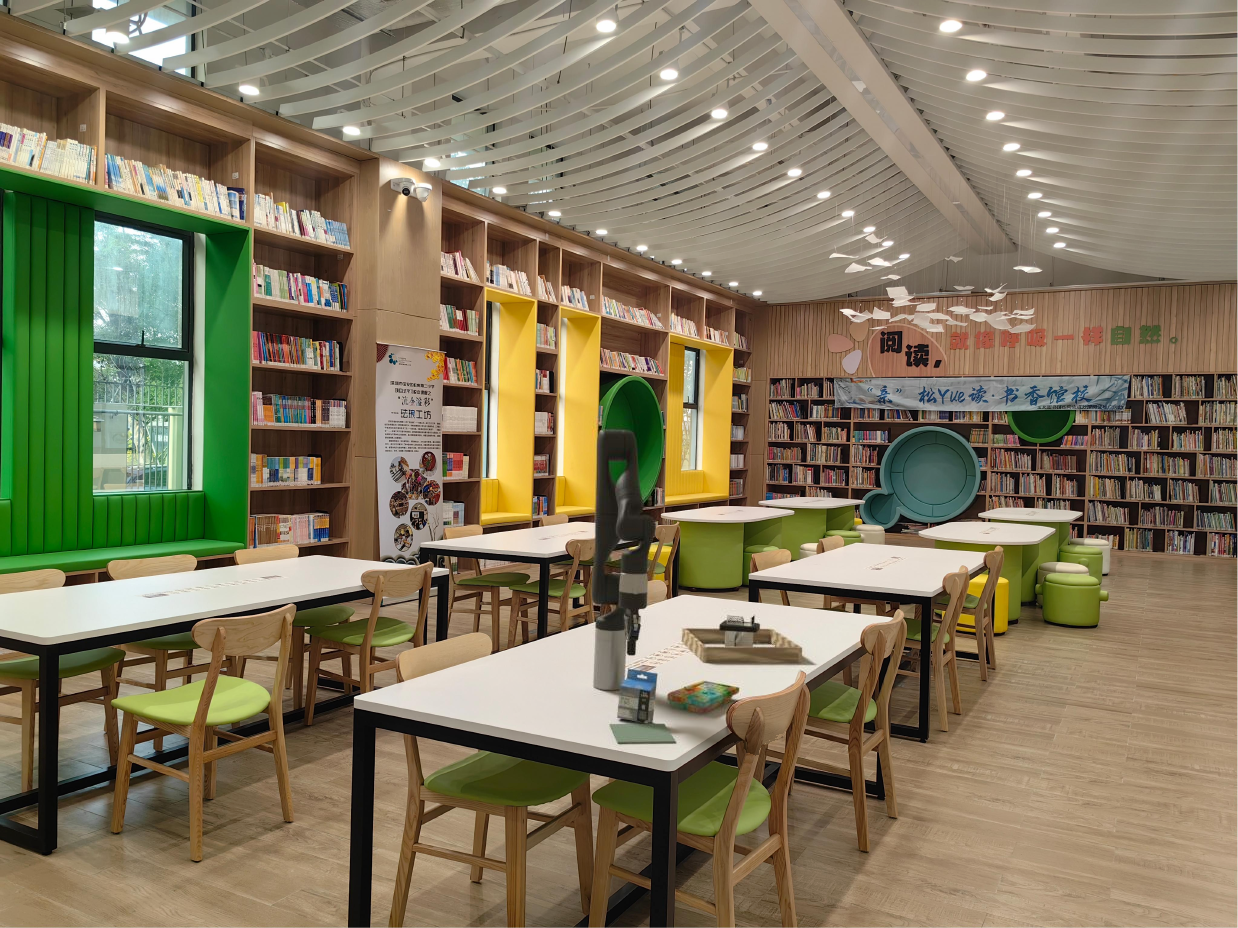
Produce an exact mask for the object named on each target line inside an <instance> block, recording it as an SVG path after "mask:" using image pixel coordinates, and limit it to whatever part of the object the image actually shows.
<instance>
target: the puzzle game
mask: <svg viewBox="0 0 1238 928" xmlns="http://www.w3.org/2000/svg"><path fill="white" fill-rule="evenodd" d="M739 692H740V687H738V686H734V685H728V684H724V683H719V682H714V681H708V680H701V681H697V682H695V683H692V684H689V685H687V686H684V687H681V688H679V689H676V690H672V691H670V692H668V693H667V697H666V699H667V702H668V703H669V704H670V705H671V706H672V708H675V709H679V710H683V711H684V710H685V711H689V712H694V713H698V714H705V713H707V712H710V711H713V710H714V709H716V708H718V707H720V706H723V705H725V704H728V703H729V702H730V701H731V700H732V699H733V696H735V695H737V694H739Z"/></svg>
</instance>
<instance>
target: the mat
mask: <svg viewBox="0 0 1238 928" xmlns="http://www.w3.org/2000/svg"><path fill="white" fill-rule="evenodd" d="M609 727H610V729H611V732H612V735H613V737H614V738H615V740H616V742H617V744H620V745H621V744H676V743H677V740H676V739H675V738H674V736H673V735H672V733H671V732H670V730H669V729H668V726H667V725H666V724H665V723H648V724H647V723H609Z"/></svg>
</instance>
